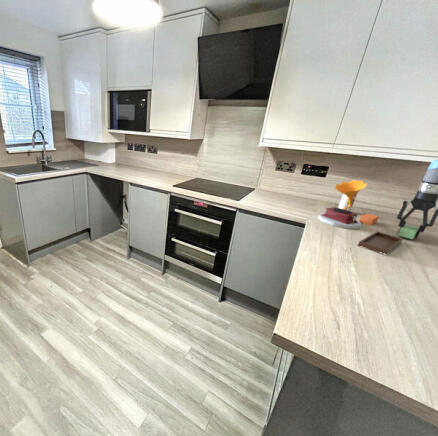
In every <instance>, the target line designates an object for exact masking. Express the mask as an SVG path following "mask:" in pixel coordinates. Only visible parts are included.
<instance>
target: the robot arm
mask: <svg viewBox="0 0 438 436" xmlns="http://www.w3.org/2000/svg"><path fill="white" fill-rule="evenodd" d="M437 201H438V159H434V160H432V161H431V163H430V164H429V166H428V168H427V169H426V172H425V174H424V176H423V178H422V181H421V182H420V185H419V186H418V190H417V191H416V193H415V195H414V197H413V199H412V200H404V201H402V207H401V209H400V211H399V212H398V214H397V216H396V219H397V220H399V223H398V225H397V226H398V227H399V229H398V232H397V234H398V233H399V231H400V229H401V228H402V227H404V226H405V225H406V223H407V221H406V220H407V219H408V218H409V217H410V216H412V214H413V213H414V212H415V211H416V210H417V211H422V213H423V214H422V224H421V225H419V227H418V228H419V229H418V231H417V233H416V235H415V237H414V239H417V238H418V237H419V235H420V234H421V233H424V232H425V230H426V228H427V227H433V226H434V224H435V222H436V220H437V218H438V205H437ZM410 204H411V206H412V208H411V209H410V210H409V211H408V212H407V213H406V214H405V215H404V213H405V211H406V209H407V207H408V206H409V205H410ZM433 208H434V209H433ZM431 209H433V210H434V212H433V215H432V217H431V219H430V221H429V211H430V210H431ZM403 215H404V216H403ZM428 221H429V222H428Z"/></svg>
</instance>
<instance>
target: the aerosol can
mask: <svg viewBox="0 0 438 436" xmlns="http://www.w3.org/2000/svg"><path fill="white" fill-rule="evenodd" d="M357 196H358V193H356V194H355V195H354V197H353V203H352V205H351V207H350V208H349V210H348V211H350V212H351V211H352V208H353V205H354V203H355V201H356V198H357ZM348 205H349V200H348V197H347V196H346V195H344V194H342V196H341V199H340V201H339V203H338V206H337V208H340V209H344V207H346V208H347V207H348ZM346 210H347V209H346Z"/></svg>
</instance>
